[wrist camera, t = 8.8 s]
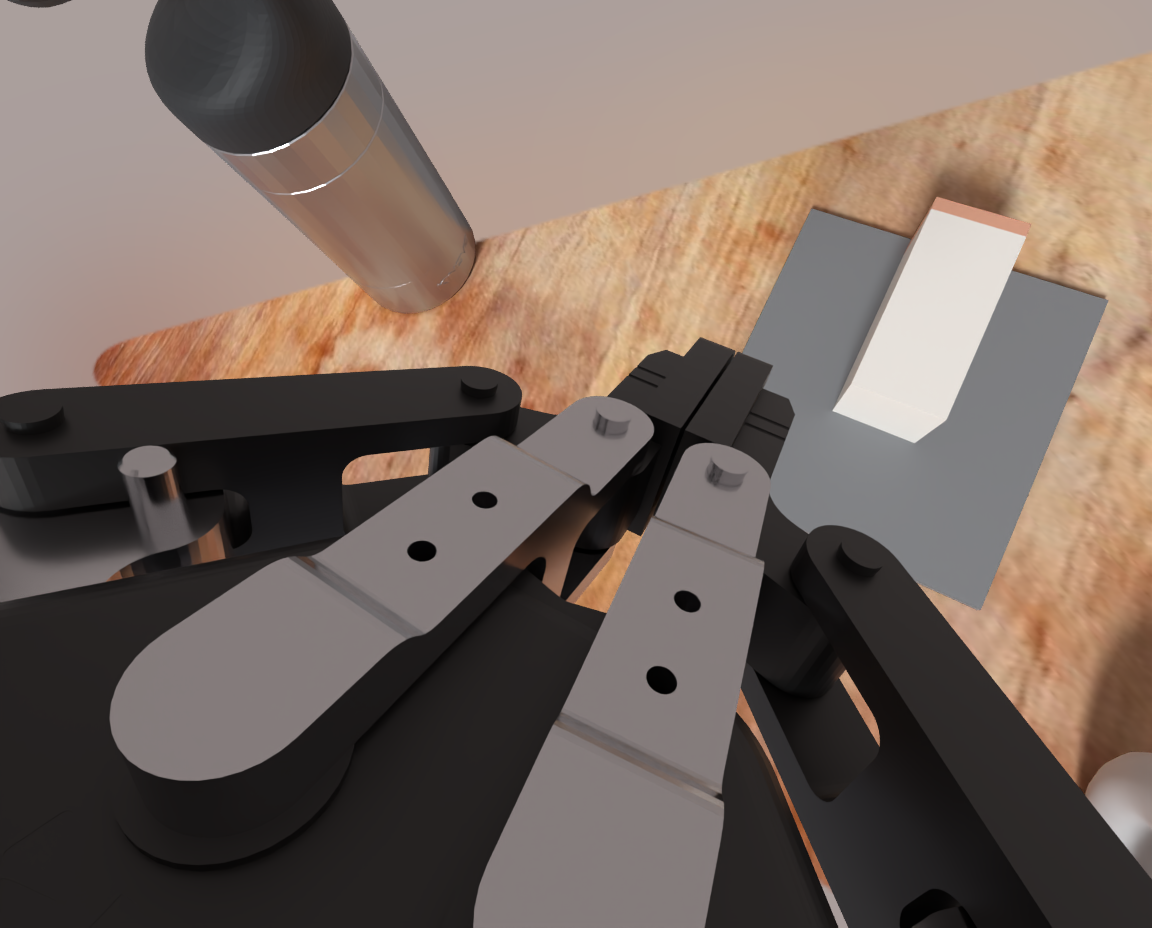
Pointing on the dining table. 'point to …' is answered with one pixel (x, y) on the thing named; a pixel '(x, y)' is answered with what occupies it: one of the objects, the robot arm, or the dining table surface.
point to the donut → (1127, 802)
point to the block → (932, 320)
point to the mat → (946, 454)
